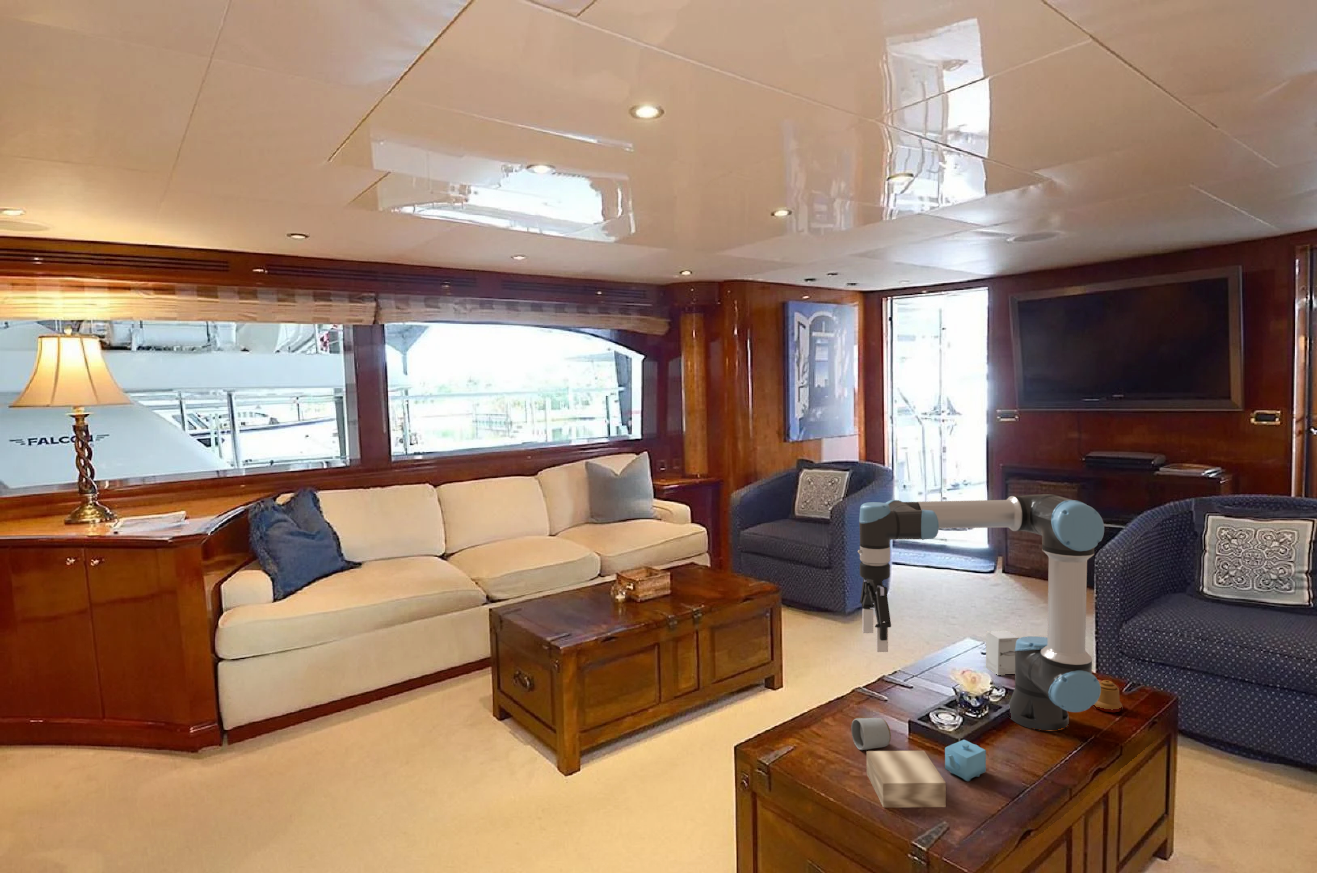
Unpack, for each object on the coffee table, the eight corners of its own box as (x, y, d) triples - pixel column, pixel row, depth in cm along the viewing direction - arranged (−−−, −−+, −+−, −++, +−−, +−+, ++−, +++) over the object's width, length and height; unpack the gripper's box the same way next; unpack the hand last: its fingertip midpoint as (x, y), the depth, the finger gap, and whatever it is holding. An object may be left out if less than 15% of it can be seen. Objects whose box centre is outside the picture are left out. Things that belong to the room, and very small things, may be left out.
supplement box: (997, 676, 227) (998, 638, 226) (985, 667, 234) (985, 630, 234) (1019, 675, 228) (1020, 637, 227) (1006, 666, 235) (1006, 629, 234)
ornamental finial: (1096, 713, 201) (1088, 701, 208) (1126, 715, 199) (1116, 703, 206) (1097, 686, 200) (1088, 675, 208) (1127, 688, 199) (1117, 677, 206)
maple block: (923, 774, 173) (924, 750, 172) (945, 808, 159) (945, 782, 158) (866, 774, 173) (866, 751, 173) (883, 809, 159) (883, 783, 159)
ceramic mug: (893, 751, 183) (892, 722, 183) (864, 755, 181) (864, 726, 181) (872, 732, 193) (872, 705, 193) (844, 736, 192) (844, 709, 191)
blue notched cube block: (957, 788, 166) (957, 758, 165) (935, 776, 171) (935, 746, 171) (989, 773, 172) (989, 744, 171) (967, 762, 177) (967, 733, 176)
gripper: (848, 551, 196) (849, 625, 197) (873, 575, 171) (873, 660, 172) (875, 550, 195) (876, 625, 197) (904, 574, 170) (904, 660, 172)
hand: (874, 641), depth 185 cm, fingers open, 13 cm apart
